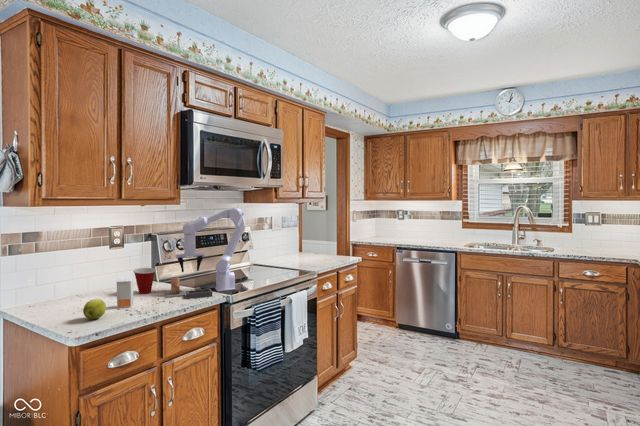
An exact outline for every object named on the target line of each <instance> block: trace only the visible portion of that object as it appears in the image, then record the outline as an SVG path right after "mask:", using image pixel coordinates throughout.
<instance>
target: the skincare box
mask: <svg viewBox="0 0 640 426" xmlns="http://www.w3.org/2000/svg"><path fill="white" fill-rule="evenodd" d="M133 306H134V279H133V278H130V279H127V278H126V279H118V280H117V281H116V308H117V309H119V308H121V309H122V308H123V309H124V308H132V307H133Z"/></svg>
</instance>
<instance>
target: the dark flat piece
mask: <svg viewBox="0 0 640 426" xmlns="http://www.w3.org/2000/svg"><path fill="white" fill-rule="evenodd" d="M185 294H186V296H185V297H186V298H187V299H188V300H192V299H201V298H211V297H213V290H212V289H211V288H201V287H199V286H198V287H195V288H194V289H193V290H191V289H190V290H186V291H185Z"/></svg>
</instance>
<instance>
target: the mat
mask: <svg viewBox="0 0 640 426" xmlns="http://www.w3.org/2000/svg"><path fill="white" fill-rule="evenodd" d="M164 294H165V297H166V299H167V298H168V299H169V298H177V297H178V298H180V297H187V296H186V292H185V291H184V290H181V291H180V294H176V295H173V294H171V291H168V292H164Z"/></svg>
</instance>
